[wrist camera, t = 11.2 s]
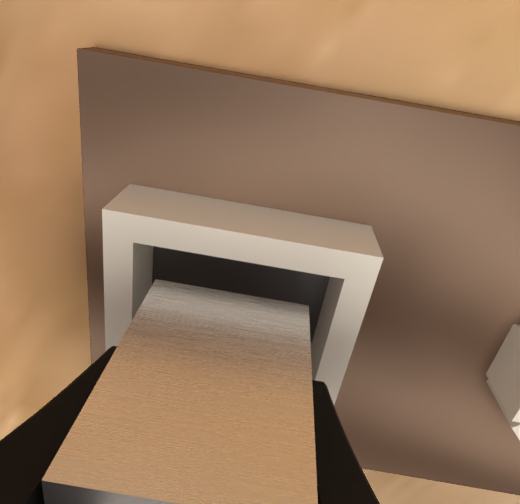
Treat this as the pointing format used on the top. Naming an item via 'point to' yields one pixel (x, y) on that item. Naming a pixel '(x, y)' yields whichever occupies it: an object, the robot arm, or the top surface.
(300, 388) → the grey rectangular block
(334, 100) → the bore board
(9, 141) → the top surface
